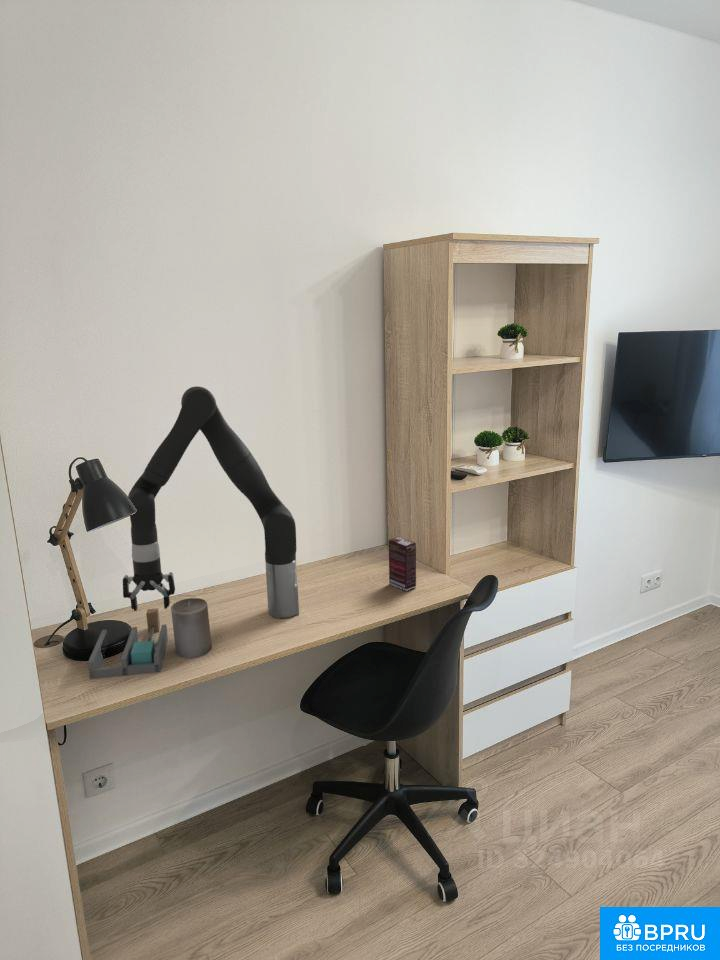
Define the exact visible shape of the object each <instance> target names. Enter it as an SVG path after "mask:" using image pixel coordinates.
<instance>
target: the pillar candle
mask: <svg viewBox="0 0 720 960" xmlns="http://www.w3.org/2000/svg"><path fill="white" fill-rule="evenodd" d="M170 612H171V619H172V620H171V621H172V630H173V638H174V639H173V640H174V645H175V647H174V648H175V654H176V656H178V657H180V658H183V659H196V658H197V659H198V658H201V657H204V656H206V655H207V654H209V653H210V652H211V650H212V646H213V645H212V637H211V627H210V617H209V609H208V602H207V601H206V600H205V599H203V598H199V597H198V598H197V597H191V598H183V599H180V600H179V601H176V602H174V603H173V604H172V605H171V607H170Z"/></svg>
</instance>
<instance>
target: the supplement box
mask: <svg viewBox="0 0 720 960" xmlns="http://www.w3.org/2000/svg"><path fill="white" fill-rule="evenodd" d="M388 570H389V571H388V573H389V574H388V575H389V577H388V579H389V585H390V584H391V585H390V586H392V585H393V587H395V588H397V587H398V588H397V589H399V588H400V590H402V589H403V590H402V591H404V590H405V591H404V592H408V590H409V591H411V590H410V589H412V588H414V589H416V588H417V543H416V542H414V541H411V540H408V539H406V538H403V537H400V536H397V537H394V538H390V539H388ZM415 587H416V588H415ZM412 590H413V589H412Z"/></svg>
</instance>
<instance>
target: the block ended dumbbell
mask: <svg viewBox="0 0 720 960" xmlns="http://www.w3.org/2000/svg"><path fill="white" fill-rule="evenodd" d="M145 614H146V615H145V616H146V623H147V624H146V625H147V631H148V632H147V633H148V637H147V640H146V641H138V642H135V643H134V646H133V649H132V652H131V659H132V664H131V665H135V664H145V663H154V653H155V649H156V646H155V640H152V638H153V636H154V633H158V632H159V633H160V630H161V622H160V613H159V608H148V609H147V610H146V613H145Z"/></svg>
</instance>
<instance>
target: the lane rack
mask: <svg viewBox="0 0 720 960" xmlns="http://www.w3.org/2000/svg"><path fill="white" fill-rule="evenodd" d="M106 634H107V635H108V630H107V629H101V632H100V634H99V637H98V639H97V641H96V643H95V645H94V648H93V650H92V652H91V654H90V656H89V659H88V662H87V665H88V672H89V678H90V679H91V680H92V679H93V680H95V679H103V678H105V679H106V678H113V677H124V676H134V675H146V674H147V675H148V674H155V673H161V670H162V666H163V661H164V658H165V655H166V654H165V653H166V649H167V645H168V640H169V637H168V627H167V624H161V626H160V630H159V634H158V638H157V642H156V646H155V653H154V663H145V664H135V665H132V659H131V652H132V649H133V646H134V643H135V642H139V634H138V627H137V626H134V627H133V626H132V627H131V630H130V633H129V635H128V638H127V641H126V644H125V646H124V649H123V651H122V652H123V653H122V655H121V657H120V661H121V662H120V663H121V665H116V666H105V667H104V666H103V667H101V665H102V663H103V661H104V658H103V655H102V653H101V645H102V643H103V640H104V638H105V636H106Z"/></svg>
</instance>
